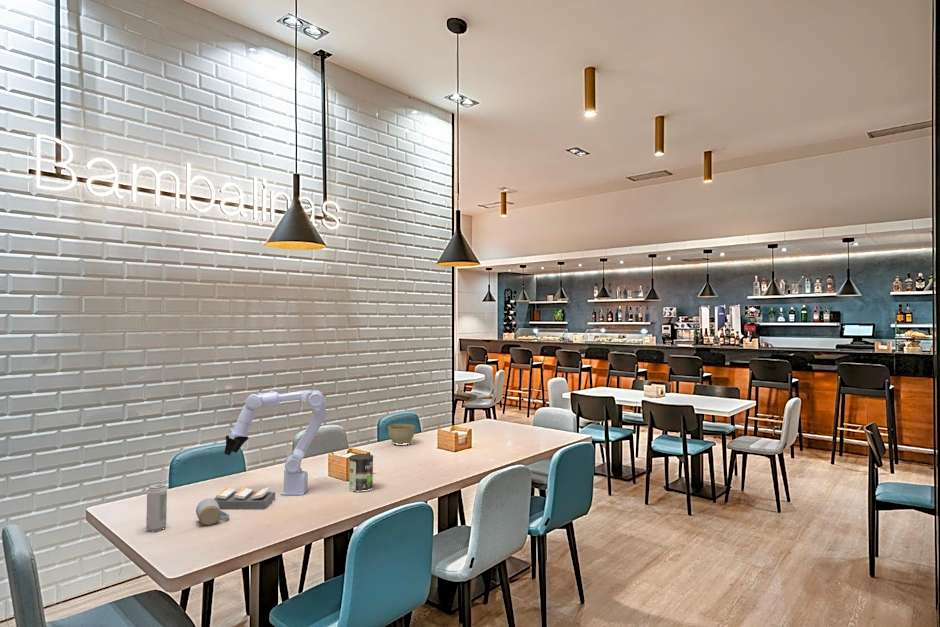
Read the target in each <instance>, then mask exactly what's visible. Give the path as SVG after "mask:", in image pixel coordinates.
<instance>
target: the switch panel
mask: <svg viewBox="0 0 940 627" xmlns="http://www.w3.org/2000/svg"><path fill="white" fill-rule="evenodd" d="M237 492H238V491H235V493H233V494H232V495H231V496H229V497H228V498H227V499H220V498H218V497H216V496H215V497H214V498H213V499H214V500H216V501H217V503H218V504H219V508H220V510H266V509H267V508H268V507H269V506H270V505H271V504H272V503H273V502H274V501H275V500H276V491H269V492H267V493H266V494H265V495H264V496H263V497H260V498H258V499H257V498H256V499H252V496H253V495H254V494H255V493H257V492H258V491H253V492H252V493H251V494H250V495H249V496H247V497H246V498H245V499H241V498H240V499H238V498H236V497H234V495H235V494H236V493H237ZM274 499H275V500H274ZM273 500H274V501H273ZM272 501H273V502H272ZM266 507H267V508H266ZM265 508H266V509H265Z"/></svg>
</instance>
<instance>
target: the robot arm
mask: <svg viewBox="0 0 940 627" xmlns="http://www.w3.org/2000/svg"><path fill="white" fill-rule="evenodd" d="M290 401H301V402H304V403H307V402H308V404H309V406H310V407H311V409H312V412H313V413H314V414H313V417H312V418H311V420H310V422H309V424H308V425H307V427H306V429H305V430H304V432H303V434H302V435H301V437H300V439H299V441H298V442H297V444H296V446H295V447H294V449H293V451H292V452H291V453H289V454H288V455H287V457H286V458H285V463H284V468H285V469H284V470H283V491H282V492H281V493H280V496H303V495H305V494H306V492H307V491H308V490H309V488H308V486H309V485H308V484H309V480H308V479H309V478H308V477H309V473H308V471H306V470H303V469H302V467H301V465H302V464H301V463H302V460H303V459H304V456H305V454H306V452H307V450H308V449H309V447H310V445H311V444H312V442H313V440H314V438H315V436H316V434H317V433H318V431H319V430H320V428H321V426H322V424H323V423H324V421H325V420H326V417H327V408H326V407H327V406H326V399H325V396H324V394H323V392H322V391H320V390H319V389H314V390H311V389H304V390H299V391H298V390H297V391H291V392H286V393H280V392H277V391H274V390H270V391H269V392H264V393H261V392H258V393H252V394H250V395H249V396H247V398H246V399H245V401H244V403H245V404H244V405H243V408H242V409H241V410H240V413H239V416H238V417H237V420H236V422H235V424H234V427H233V428H232V427H231V428H229V431H230V434H229V435H226V436H225V447H224V453H223V454H224V455H227V456H231V454H232V452H233V453H238V452H239V451H240V449H241V448H242V446H243V445H244V444H245V443H246V442H247V441H248V440H249V437H248V436H247V435H248V433H249V430H250V428H251V425H252V423H253V420H254V419H255V416H256V413H257V410H258V408H259V407H261V408H266V407H274V406H278V405H279V404H280V403H281V402H290Z"/></svg>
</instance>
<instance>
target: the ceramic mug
mask: <svg viewBox="0 0 940 627" xmlns="http://www.w3.org/2000/svg"><path fill="white" fill-rule="evenodd" d="M195 514H196V516H197V518H198V521H199V523H200V524H202V525H204V526H212V525H214V524H215V523H217V522H218V521H224V522H226V521H228V520H229V518H230V514H229V513H227V512H226V511H223V510H221V509H220V508H219V504H218V503H217V501H216V500H214V498H204V499H202V500H201V501H200V502H199V503H198V504H197V505H196V508H195Z"/></svg>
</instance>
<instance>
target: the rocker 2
mask: <svg viewBox="0 0 940 627" xmlns="http://www.w3.org/2000/svg"><path fill="white" fill-rule="evenodd" d="M256 492H257V493H255V494H254V495H253V496H252V499H256V498H257V499H258V498H260V497H263V496H264V495H265V494H266V493H267V492H271V488H270V487H265V488H262V489H259V490H258V491H256Z"/></svg>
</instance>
